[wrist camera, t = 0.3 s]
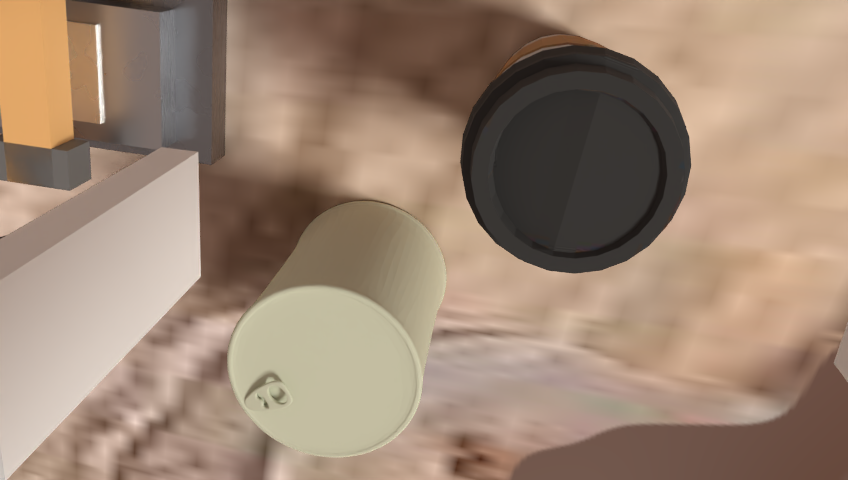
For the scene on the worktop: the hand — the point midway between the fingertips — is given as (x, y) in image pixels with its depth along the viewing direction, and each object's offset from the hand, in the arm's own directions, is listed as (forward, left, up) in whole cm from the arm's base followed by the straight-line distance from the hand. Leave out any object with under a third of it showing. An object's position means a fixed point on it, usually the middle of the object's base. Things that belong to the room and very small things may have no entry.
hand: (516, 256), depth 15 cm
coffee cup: (+2, +2, -27) cm, 27 cm away
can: (+14, -7, -27) cm, 31 cm away
